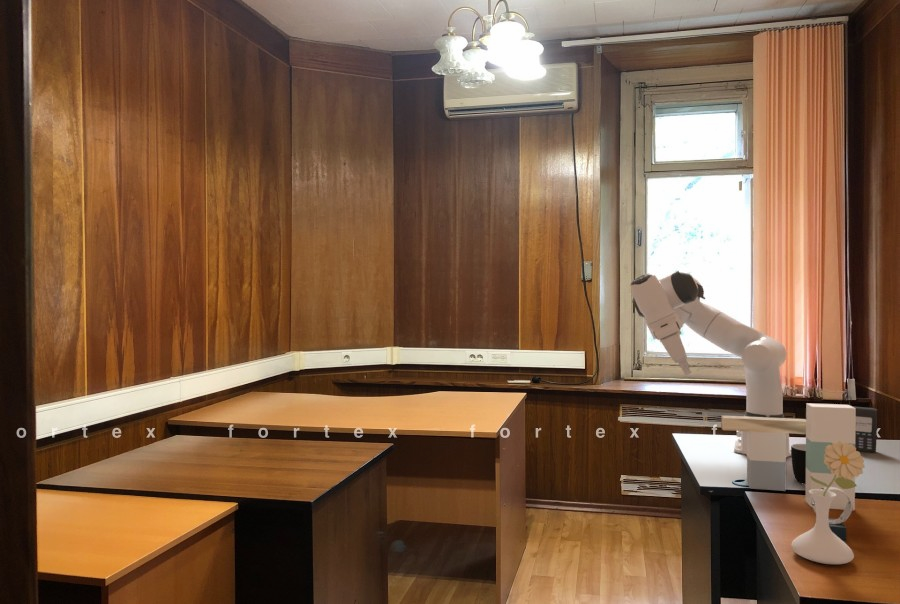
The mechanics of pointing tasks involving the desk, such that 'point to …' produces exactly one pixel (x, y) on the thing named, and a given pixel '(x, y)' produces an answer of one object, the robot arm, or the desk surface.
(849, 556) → the flower in vase
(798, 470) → the mug
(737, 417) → the batten
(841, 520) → the watch
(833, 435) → the tower
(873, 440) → the card reader
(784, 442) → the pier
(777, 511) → the desk surface
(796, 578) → the desk surface
